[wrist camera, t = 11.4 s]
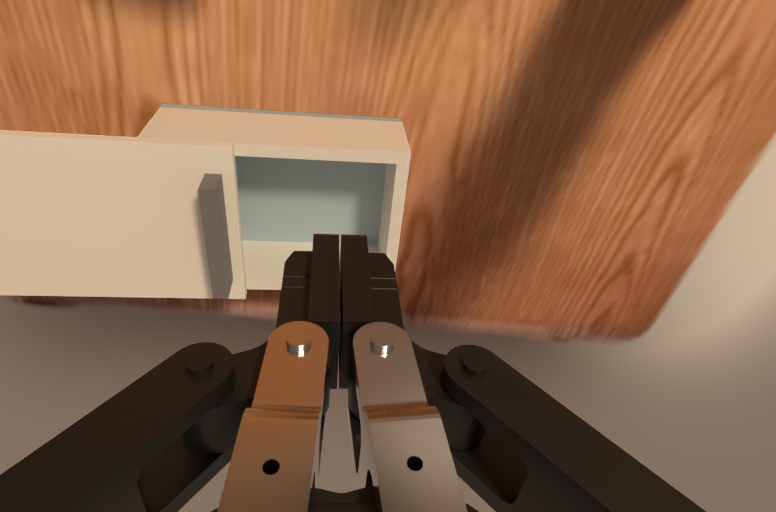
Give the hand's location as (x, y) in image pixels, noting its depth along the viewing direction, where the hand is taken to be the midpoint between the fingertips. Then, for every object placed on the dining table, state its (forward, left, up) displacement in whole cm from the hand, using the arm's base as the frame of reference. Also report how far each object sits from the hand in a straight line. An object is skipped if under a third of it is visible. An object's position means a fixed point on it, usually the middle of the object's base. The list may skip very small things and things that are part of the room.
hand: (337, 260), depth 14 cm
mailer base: (+4, +15, -31) cm, 34 cm away
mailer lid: (+17, +14, -24) cm, 33 cm away
